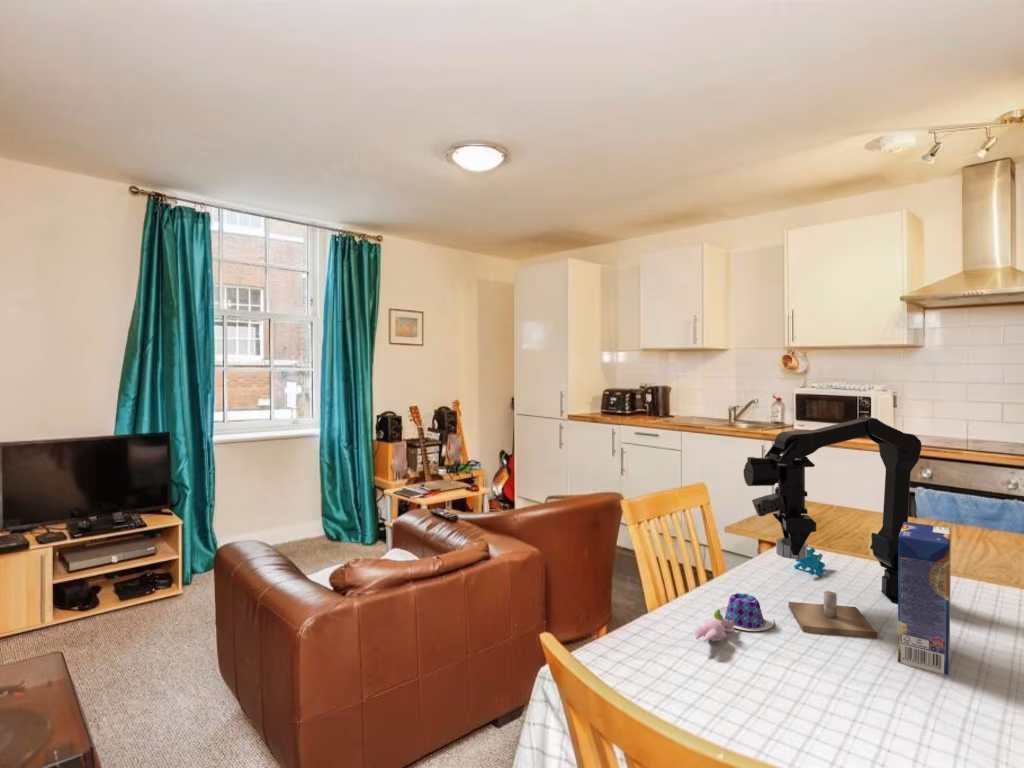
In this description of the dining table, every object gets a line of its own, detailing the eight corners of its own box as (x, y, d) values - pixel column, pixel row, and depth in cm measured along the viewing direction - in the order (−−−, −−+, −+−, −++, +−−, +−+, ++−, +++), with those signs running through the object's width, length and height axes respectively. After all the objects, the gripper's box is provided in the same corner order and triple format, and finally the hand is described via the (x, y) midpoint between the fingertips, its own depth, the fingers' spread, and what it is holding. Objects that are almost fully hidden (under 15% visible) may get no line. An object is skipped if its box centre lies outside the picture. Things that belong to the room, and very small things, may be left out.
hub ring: (802, 550, 134) (802, 538, 134) (809, 560, 128) (809, 547, 128) (774, 549, 136) (774, 537, 136) (779, 558, 130) (779, 545, 130)
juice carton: (948, 676, 99) (949, 544, 99) (897, 662, 104) (898, 536, 103) (949, 648, 109) (951, 527, 108) (903, 637, 113) (904, 521, 113)
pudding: (778, 617, 124) (778, 594, 124) (768, 639, 114) (768, 614, 114) (722, 604, 131) (722, 583, 131) (708, 625, 121) (708, 601, 121)
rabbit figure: (713, 627, 122) (684, 643, 110) (714, 600, 122) (686, 613, 111) (742, 636, 117) (715, 654, 106) (743, 607, 118) (717, 622, 107)
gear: (810, 574, 143) (788, 539, 149) (794, 585, 146) (773, 551, 153) (836, 572, 148) (814, 539, 154) (820, 583, 151) (799, 549, 158)
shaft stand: (855, 612, 125) (856, 585, 125) (877, 637, 113) (877, 608, 113) (788, 606, 128) (788, 580, 128) (802, 631, 117) (802, 602, 116)
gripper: (748, 476, 142) (748, 536, 143) (762, 493, 124) (762, 561, 125) (795, 477, 140) (796, 538, 140) (817, 495, 121) (817, 565, 122)
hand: (791, 550), depth 132 cm, fingers closed on hub ring, 6 cm apart
